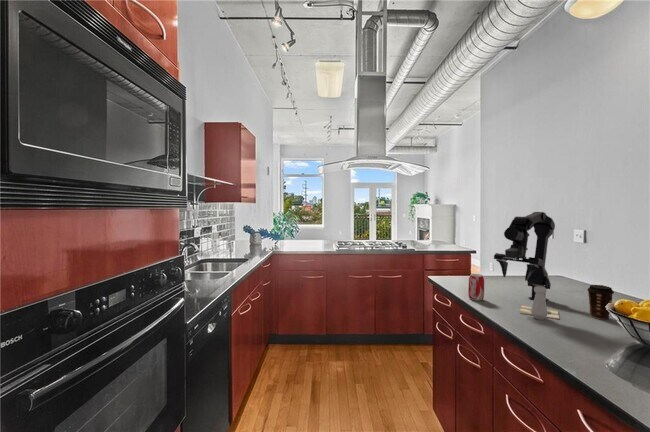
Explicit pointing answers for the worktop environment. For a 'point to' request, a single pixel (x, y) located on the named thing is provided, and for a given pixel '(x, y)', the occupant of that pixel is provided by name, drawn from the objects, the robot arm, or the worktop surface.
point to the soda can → (476, 287)
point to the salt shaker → (539, 303)
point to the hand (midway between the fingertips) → (514, 278)
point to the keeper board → (551, 312)
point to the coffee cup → (599, 300)
